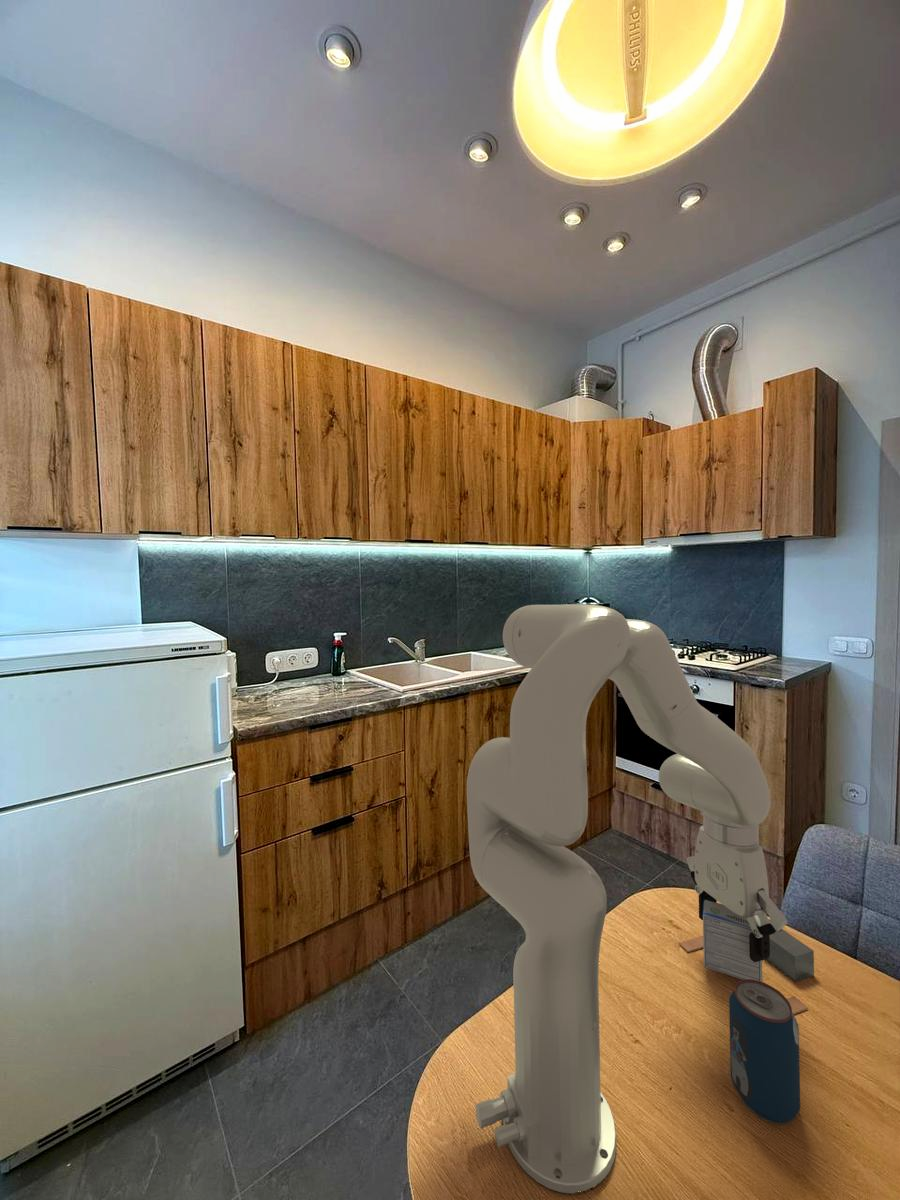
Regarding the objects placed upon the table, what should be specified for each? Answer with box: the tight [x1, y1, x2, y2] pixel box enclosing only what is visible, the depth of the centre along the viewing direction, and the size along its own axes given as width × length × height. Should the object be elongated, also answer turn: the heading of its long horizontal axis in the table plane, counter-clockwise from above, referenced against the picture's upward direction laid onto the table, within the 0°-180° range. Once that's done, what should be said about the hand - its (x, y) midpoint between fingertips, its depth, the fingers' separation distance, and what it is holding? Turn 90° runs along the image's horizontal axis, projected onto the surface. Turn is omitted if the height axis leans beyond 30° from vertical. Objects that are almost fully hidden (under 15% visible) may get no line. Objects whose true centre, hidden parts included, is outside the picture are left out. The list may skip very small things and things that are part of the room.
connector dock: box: [678, 919, 815, 1016], centre depth 75 cm, size 15×16×4 cm
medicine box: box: [702, 900, 764, 983], centre depth 73 cm, size 8×4×9 cm, turn 60°
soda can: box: [728, 979, 801, 1125], centre depth 55 cm, size 7×7×12 cm
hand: (732, 936), depth 73 cm, fingers closed on medicine box, 8 cm apart
